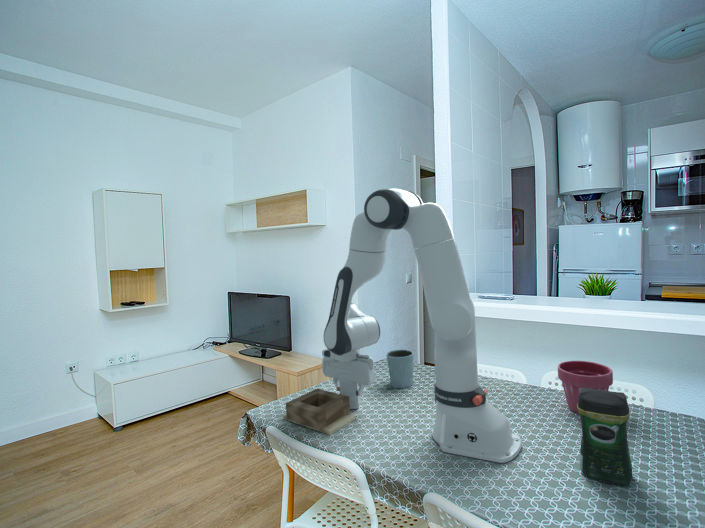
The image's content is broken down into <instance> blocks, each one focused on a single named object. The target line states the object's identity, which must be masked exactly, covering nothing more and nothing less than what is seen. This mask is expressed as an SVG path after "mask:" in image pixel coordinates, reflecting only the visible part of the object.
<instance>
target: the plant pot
mask: <svg viewBox="0 0 705 528" xmlns="http://www.w3.org/2000/svg"><path fill="white" fill-rule="evenodd" d="M557 377H558V380H560V381H561V383H562V388H563V392H564V393H563V394H564V396H565V399H566V402H567V407H568V409H570V410H571V412H574V413H576V414H579V412H578V409H577V403H578V396H579V392H580V390H581V388H583V387H584V388H589V389H597V390H605V391H610V390H609V389H610V387H611V386H612V385H613V383H614V373H613V370H612V368H611V367H609V366H607V365H606V364H602V363H599V362H594V361H586V360H566V361H562V362H560V363H558V365H557Z"/></svg>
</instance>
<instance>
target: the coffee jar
mask: <svg viewBox="0 0 705 528" xmlns="http://www.w3.org/2000/svg"><path fill="white" fill-rule="evenodd" d="M627 399H628V398H627V396H626V394H625V393H624V392H621V391H620V392H618V391H610V390H608V391H605V390H597V389H589V388H584V387H583V388H581V390H580V392H579V396H578V403H577V409H578V412H579V413H578V414H579V416H580V424H581V425H580V426H581V429H580V430H581V435H580V451H579V452H580V453H579V469H580V471H581V472H582V474H584V475H585V476H586V477H588V478H590V479H593V480H597V481H600V482H605V483H609V484H612V485H616V486H617V485H618V486H626V485H629V484H631V483H632V481H633V465H632V461H631V460H632V459H631V454H630V449H629V447H630V446H629V442H628V441H629V440H628V428H627V424H628V422H629V420H630V415H631V414H630V413H631V412H630V407H629V404H628V400H627Z"/></svg>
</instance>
